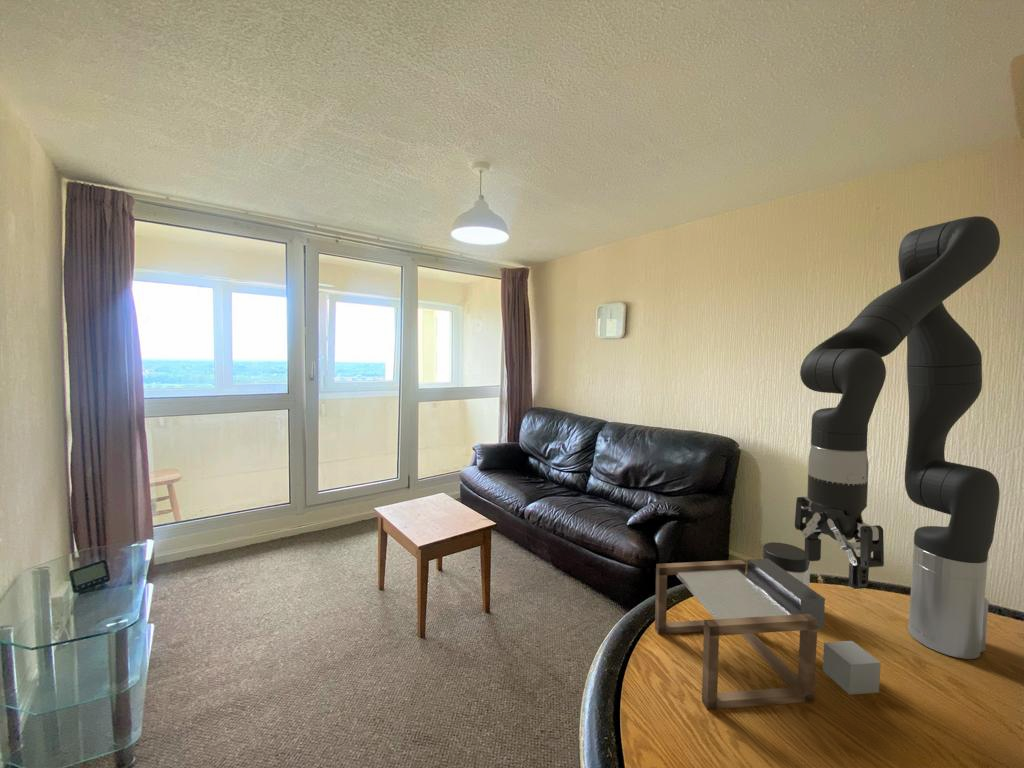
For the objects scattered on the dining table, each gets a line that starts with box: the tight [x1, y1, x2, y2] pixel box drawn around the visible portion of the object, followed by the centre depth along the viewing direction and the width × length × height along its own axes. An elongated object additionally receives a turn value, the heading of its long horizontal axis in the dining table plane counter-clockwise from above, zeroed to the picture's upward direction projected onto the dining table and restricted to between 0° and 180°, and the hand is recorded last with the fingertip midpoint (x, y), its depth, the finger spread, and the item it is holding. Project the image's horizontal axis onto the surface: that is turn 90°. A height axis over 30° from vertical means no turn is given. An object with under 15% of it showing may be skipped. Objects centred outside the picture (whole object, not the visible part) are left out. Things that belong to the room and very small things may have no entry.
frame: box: [654, 559, 818, 711], centre depth 72 cm, size 17×18×13 cm
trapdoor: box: [676, 558, 826, 630], centre depth 72 cm, size 18×15×5 cm
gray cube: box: [822, 640, 881, 695], centre depth 67 cm, size 5×5×5 cm
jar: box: [761, 541, 811, 588], centre depth 87 cm, size 9×8×12 cm
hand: (833, 572), depth 68 cm, fingers open, 8 cm apart
